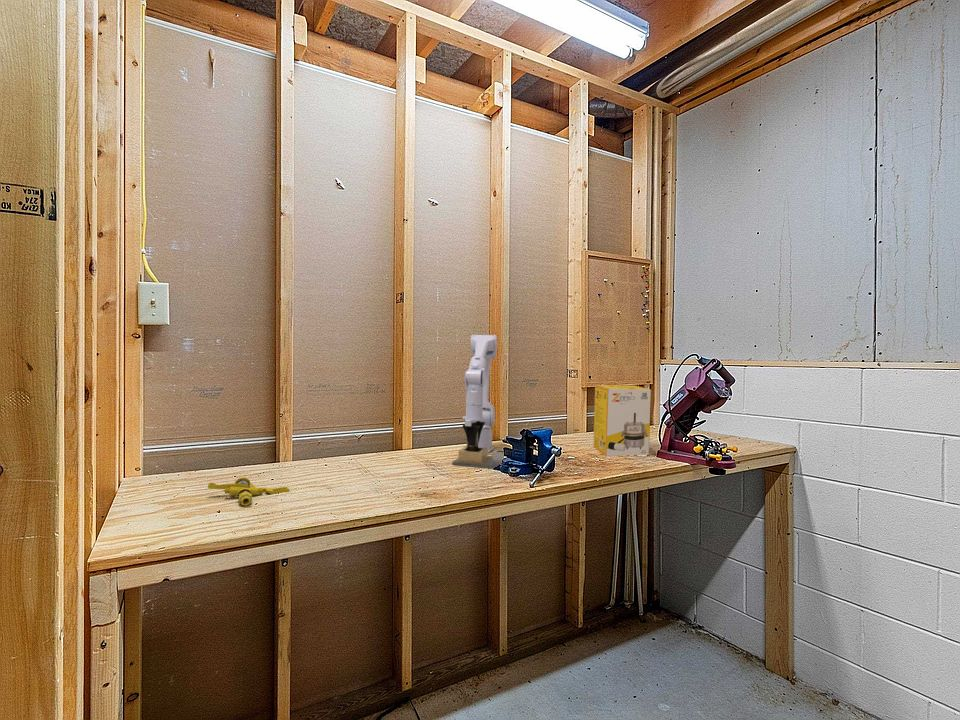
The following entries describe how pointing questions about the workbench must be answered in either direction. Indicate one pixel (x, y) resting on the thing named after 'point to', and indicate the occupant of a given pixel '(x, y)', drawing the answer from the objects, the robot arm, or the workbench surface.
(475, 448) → the dark grey cylinder
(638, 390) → the packaging box
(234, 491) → the sprinkler
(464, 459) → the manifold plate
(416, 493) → the workbench surface
